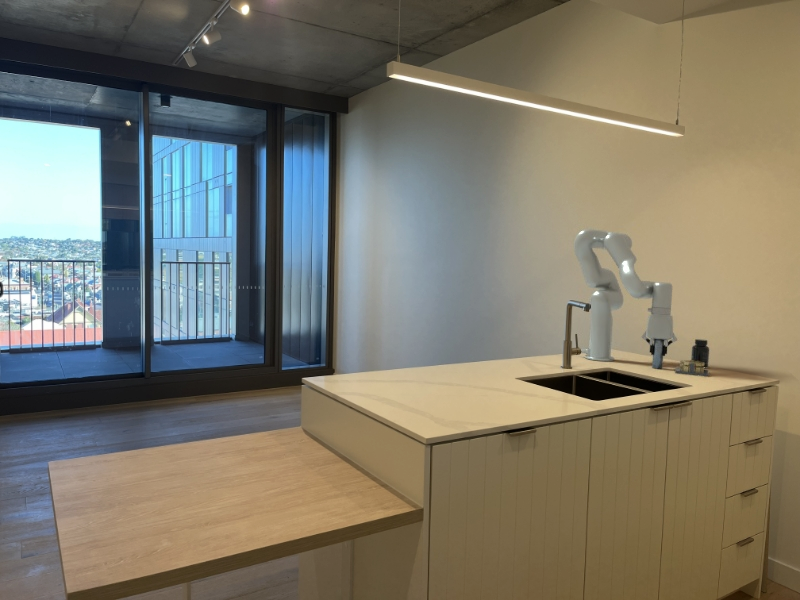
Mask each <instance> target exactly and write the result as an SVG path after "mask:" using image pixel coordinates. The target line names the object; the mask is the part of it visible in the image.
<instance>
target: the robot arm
mask: <svg viewBox="0 0 800 600" xmlns="http://www.w3.org/2000/svg"><path fill="white" fill-rule="evenodd" d="M573 241H574V242H573V250H574V253H575V256H576V259H577V261H578V263H579V266H580V269H581V273H582V275H583V278H584V280H585V283H586V285H587V287H589V288H590V289H596V291H594V292H593V293H591V295H590V297H589V305H590V304H591V309H590V308H589V310H590V326H589V329H590V330H589V341H588V342H589V343H588V344H589V345H588V348H586V349H585V348H580V349H581V351H582V353H581V354H585V355H584V358H585V359H586V360H592V361H599V362H600V361H601V362H613V361H614V360H615V357H614V356H611V355H612V342H613V341H612V339H613V337H612V336H613V313H612V311H618V310H619V309H621V308H622V306H623V304H624V296H623V295H624V294H623V292H622V289H621V288H620V287H621V286H620V284H619V282H618V281H619V280H618V279H617V276H616V275H615V273H614V272H613V271H612V270H611V269H609V268H605V267H604V268H603V267H602V266H601V263H600V260H599V257H598V255H597V254H596V253H595V252H594V250H593V249H601V250H606V251H607V252H608V254H609V256H610V257H611V258H612V260H613V262H614V263H615V265H616V266H617V268H618V274H619V279H620V282H621V284H622V285H623V287H624V288H625V289H626V291H627V292H628V294H629V295H630V296H631V297H632V298H634V299H638V300H639V299H645V300H646V299H648V300H649V299H652V300H651V307H648V308H647V312H650V314H648V318H647V321H646V323H647V324H646V331H644V333H643V334H642V335H641V338H642V340H645V341H646V343H648V345H649V353H651V354H650V355H652V356H653V349H654V339H664V347H663V357H666V355H667V354H668V347H669V346H670V345H671V344H674V343H675V342H677V341H678V337H677V336H676V335H675V333H674V320H673V315H672V299H673V298H672V297H673V284H672V283H670V282H661V281H659V282H655V281H650V280H641V279H640V277H639V275H638V274H637V273H636V269H635V264H636V263H637V257H636V255H635V253H634V251H632V249H631V248H632V246H633V241H632V239H631V237H630V236H629V235H628V234H626V233H619V232H614V231H607V230H600V229H594V228H593V229H592V228H587V229H585V228H584V229H583V230H581V231H580V232H578V234H576V236H575V239H574V240H573Z"/></svg>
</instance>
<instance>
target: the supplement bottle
mask: <svg viewBox="0 0 800 600" xmlns="http://www.w3.org/2000/svg"><path fill="white" fill-rule="evenodd" d="M690 358H691V359H690V360H695V361H700V362H704V366H703V367H709V363H710V362H709V359H710V347H709V346H708V340H707V339H701V338H700V339H699V338H696V339H695V340H694V345H692V347H691V356H690Z"/></svg>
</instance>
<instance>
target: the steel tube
mask: <svg viewBox="0 0 800 600" xmlns="http://www.w3.org/2000/svg"><path fill="white" fill-rule="evenodd" d="M653 345H654V349H653V355H652V363H651V368H652V369H654V368H655V369H656V370H662V369H663V364H664V356H663V347H664V345H665V342H664V339H654V341H653Z"/></svg>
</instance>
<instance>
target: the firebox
mask: <svg viewBox="0 0 800 600" xmlns="http://www.w3.org/2000/svg"><path fill="white" fill-rule="evenodd" d="M679 361H680V362H679V363H680V364H679V366H676V367H675V370H674V371H675V372H674V373H675V374H680V375H690V376H698V375H699V377H700V376H701V377H709V370H708V369H705V368H704V367H703V366H704V362H700V361H695V360H691V359H681V360H679Z"/></svg>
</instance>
